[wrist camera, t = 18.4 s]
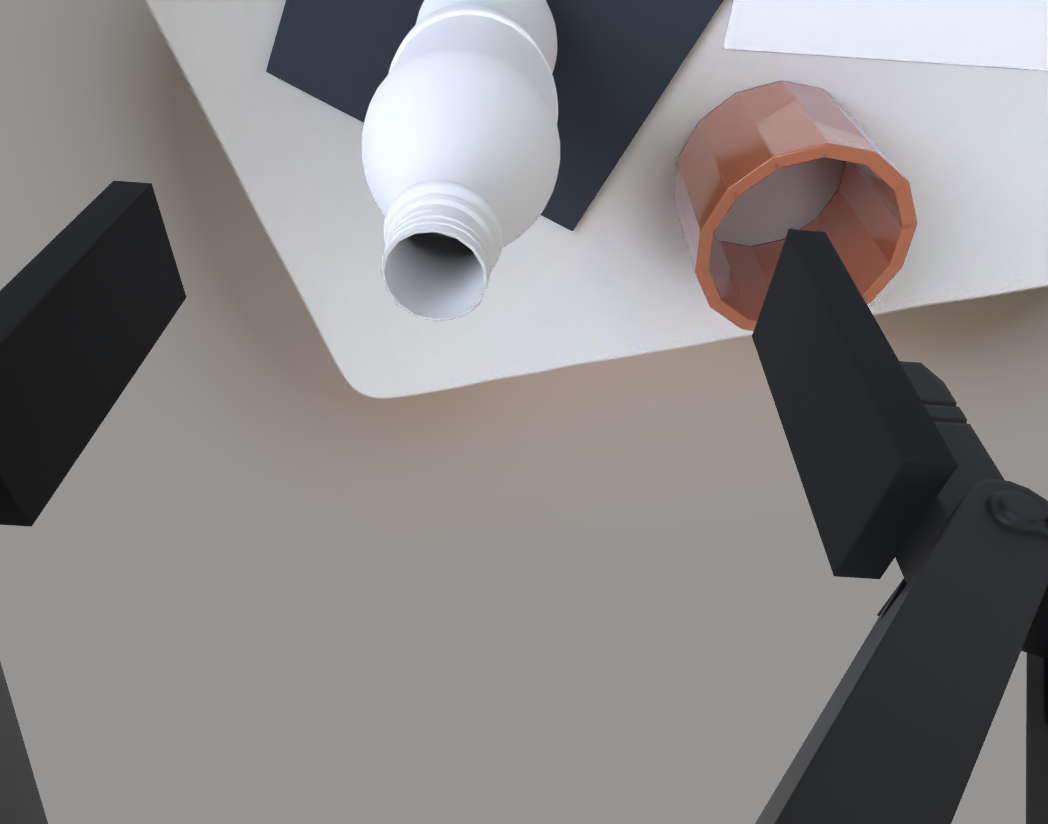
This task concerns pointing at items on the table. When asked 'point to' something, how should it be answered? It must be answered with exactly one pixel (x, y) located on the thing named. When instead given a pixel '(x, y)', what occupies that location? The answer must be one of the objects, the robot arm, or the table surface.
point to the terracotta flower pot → (757, 151)
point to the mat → (579, 73)
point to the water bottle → (462, 147)
